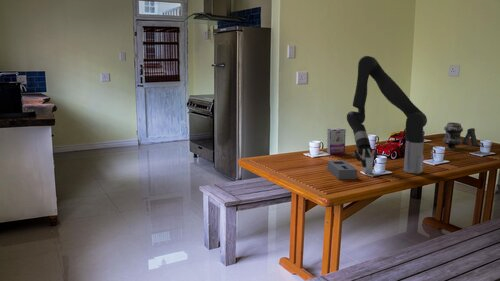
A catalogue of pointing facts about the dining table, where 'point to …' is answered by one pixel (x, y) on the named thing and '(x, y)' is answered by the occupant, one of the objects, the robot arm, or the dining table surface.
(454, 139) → the dark grey tall lump
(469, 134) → the dark grey arch
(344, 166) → the bore block
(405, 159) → the robot arm
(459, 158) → the dining table surface
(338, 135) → the candy bar box
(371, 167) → the gray rectangular block
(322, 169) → the dining table surface
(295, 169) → the dining table surface
